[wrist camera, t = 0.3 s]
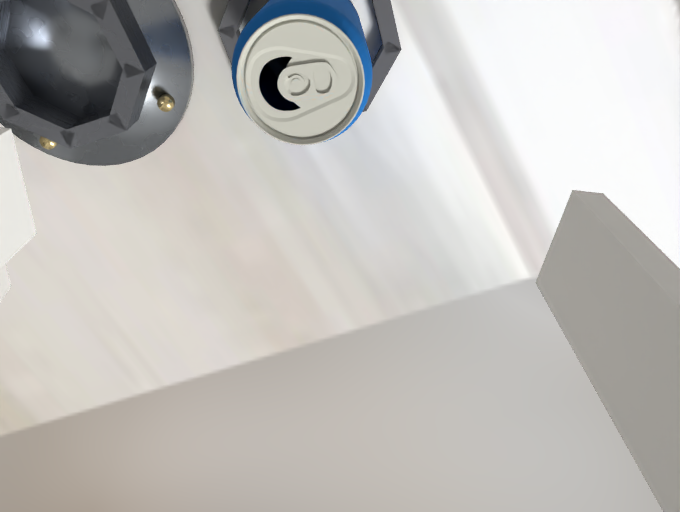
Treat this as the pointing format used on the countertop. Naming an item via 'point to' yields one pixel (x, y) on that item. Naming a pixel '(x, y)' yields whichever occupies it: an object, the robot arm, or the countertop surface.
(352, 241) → the countertop surface
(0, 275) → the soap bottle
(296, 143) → the beverage can
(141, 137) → the hub socket
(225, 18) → the stand ring
